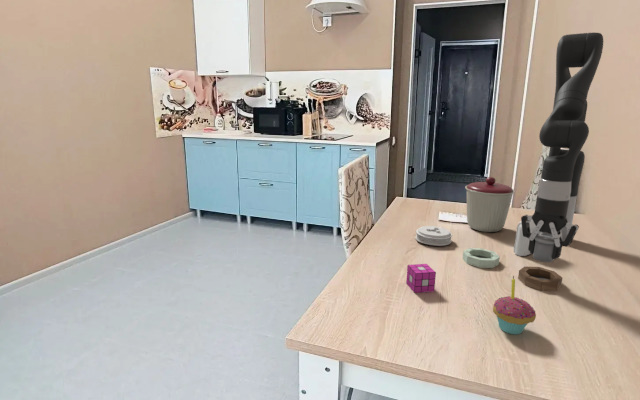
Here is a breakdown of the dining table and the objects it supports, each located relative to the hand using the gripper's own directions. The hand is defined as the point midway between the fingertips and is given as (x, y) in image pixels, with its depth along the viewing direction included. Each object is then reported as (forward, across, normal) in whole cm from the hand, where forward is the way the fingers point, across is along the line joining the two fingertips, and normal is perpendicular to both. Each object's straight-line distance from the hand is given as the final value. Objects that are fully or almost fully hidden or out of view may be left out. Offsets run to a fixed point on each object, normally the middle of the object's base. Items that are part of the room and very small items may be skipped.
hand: (543, 255), depth 108 cm
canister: (+8, +32, -36) cm, 49 cm away
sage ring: (+8, +18, -2) cm, 20 cm away
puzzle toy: (+9, +21, +28) cm, 36 cm away
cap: (+1, 0, 0) cm, 1 cm away
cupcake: (+9, -4, +30) cm, 31 cm away
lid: (+8, +38, -7) cm, 40 cm away
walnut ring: (+8, 0, 0) cm, 8 cm away
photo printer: (+8, +11, -21) cm, 25 cm away
